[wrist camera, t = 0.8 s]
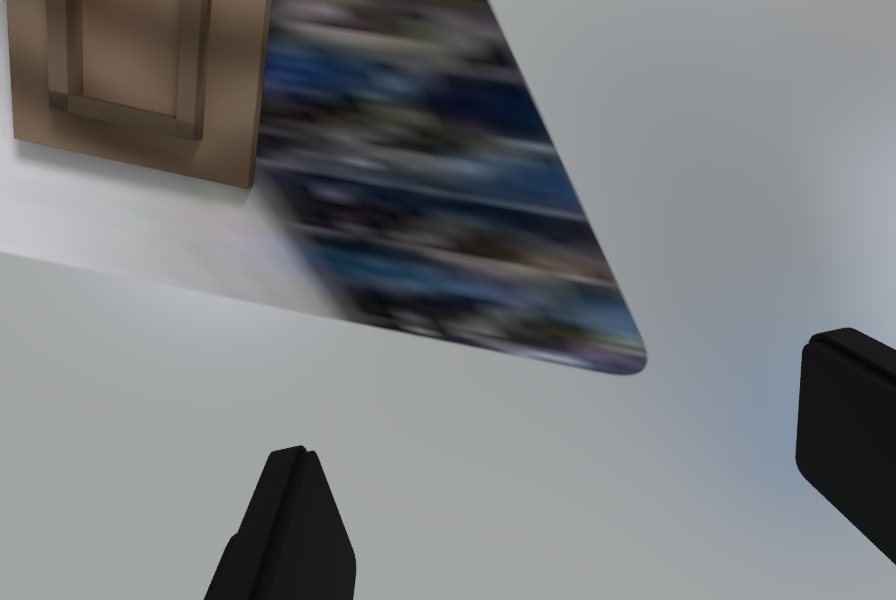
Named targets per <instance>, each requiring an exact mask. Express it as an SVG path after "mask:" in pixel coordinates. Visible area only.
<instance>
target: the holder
mask: <svg viewBox="0 0 896 600" xmlns="http://www.w3.org/2000/svg"><path fill="white" fill-rule="evenodd" d="M271 2H272V0H7V18H8V36H9V54H10V72H11V90H12V108H13V126H14V138H15V139H19V140H24V141H29V142H33V143H38V144H42V145H47V146H52V147H56V148H61V149H65V150H70V151H75V152H79V153H84V154H89V155H93V156H98V157H102V158H107V159H112V160H116V161H121V162H125V163H130V164H135V165H139V166H144V167H148V168H153V169H158V170H162V171H167V172H172V173H176V174H181V175H185V176H190V177H195V178H199V179H204V180H208V181H213V182H218V183H222V184H227V185H232V186H236V187H241V188H245V189H248V188H250V187H252V186H253V179H254V170H255V160H256V150H257V140H258V130H259V120H260V111H261V101H262V91H263V81H264V71H265V61H266V52H267V42H268V32H269V22H270V12H271Z"/></svg>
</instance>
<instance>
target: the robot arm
mask: <svg viewBox="0 0 896 600" xmlns="http://www.w3.org/2000/svg"><path fill="white" fill-rule="evenodd" d="M795 457H796V464H797V467H798V469H799V471H800V472H801V474H802V475H803V477H804V478H805V479H806V480H807V481H808V482H809V483H810V484H811V485H812V486H813V487H814V488H816V489H817V490H818V491H819V492H820V493H821V494H822V495H823V496H824V497H825V498H826V499H827V500H828V501H829V502H830V503H831V504H832V505H833V506H834V507H835V508H837V509H838V510H839V511H840V512H841V513H842V514H843V515H844V516H845V517H846V518H847V519H848V520H849V521H850V522H851V523H852V524H853V525H854V526H855V527H856V528H857V529H859V530H860V531H861V532H862V533H863V534H864V535H865V536H866V537H867V538H868V539H869V540H870V541H871V542H872V543H873V544H874V545H875V546H876V547H877V548H879V549H880V550H881V551H882V552H883V553H884V554H885V555H886V556H887V557H888V558H889V559H890V560H891V561H892V562H893V563H894V564H895V565H896V350H895V349H893V348H891V347H889V346H887V345H885V344H883V343H881V342H879V341H877V340H875V339H873V338H871V337H869V336H867V335H865V334H863V333H862V332H860V331H858V330H856V329H853V328H841V329H837V330H832V331H827V332H823V333H819V334H815V335H813V336H812V337H811V339H810V340H809V344H807V345H805V346H804V348H803V351H802V362H801V378H800V394H799V410H798V425H797V441H796V456H795ZM355 579H356V559H355V554H354V551H353V548H352V546H351V543H350V540H349V538H348V535H347V532H346V530H345V527H344V525H343V522H342V519H341V516H340V514H339V511H338V508H337V506H336V503H335V501H334V498H333V495H332V493H331V490H330V488H329V485H328V482H327V479H326V477H325V474H324V472H323V469H322V466H321V463H320V461H319V459H318V456H317V454H316V452H315V451H309V452H307V450H306V449H305V448H304V446H301V445H300V446H295V447H291V448H286V449H281V450H277V451H273V452H271V453H270V455H269V457H268V459H267V462H266V464H265V466H264V469H263V471H262V474H261V476H260V479H259V481H258V484H257V486H256V489H255V491H254V493H253V496H252V498H251V501H250V503H249V506H248V508H247V511H246V513H245V516H244V518H243V520H242V523H241V525H240V528H239V530H238V533H236V534H235V535H234V536H232V537H231V538H230V540H229V542H228V544H227V546H226V548H225V550H224V553H223V555H222V557H221V560H220V562H219V564H218V567H217V569H216V572H215V574H214V576H213V579H212V581H211V584H210V586H209V588H208V591H207V593H206V596H205V598H204V600H353V596H354V588H355Z"/></svg>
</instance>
